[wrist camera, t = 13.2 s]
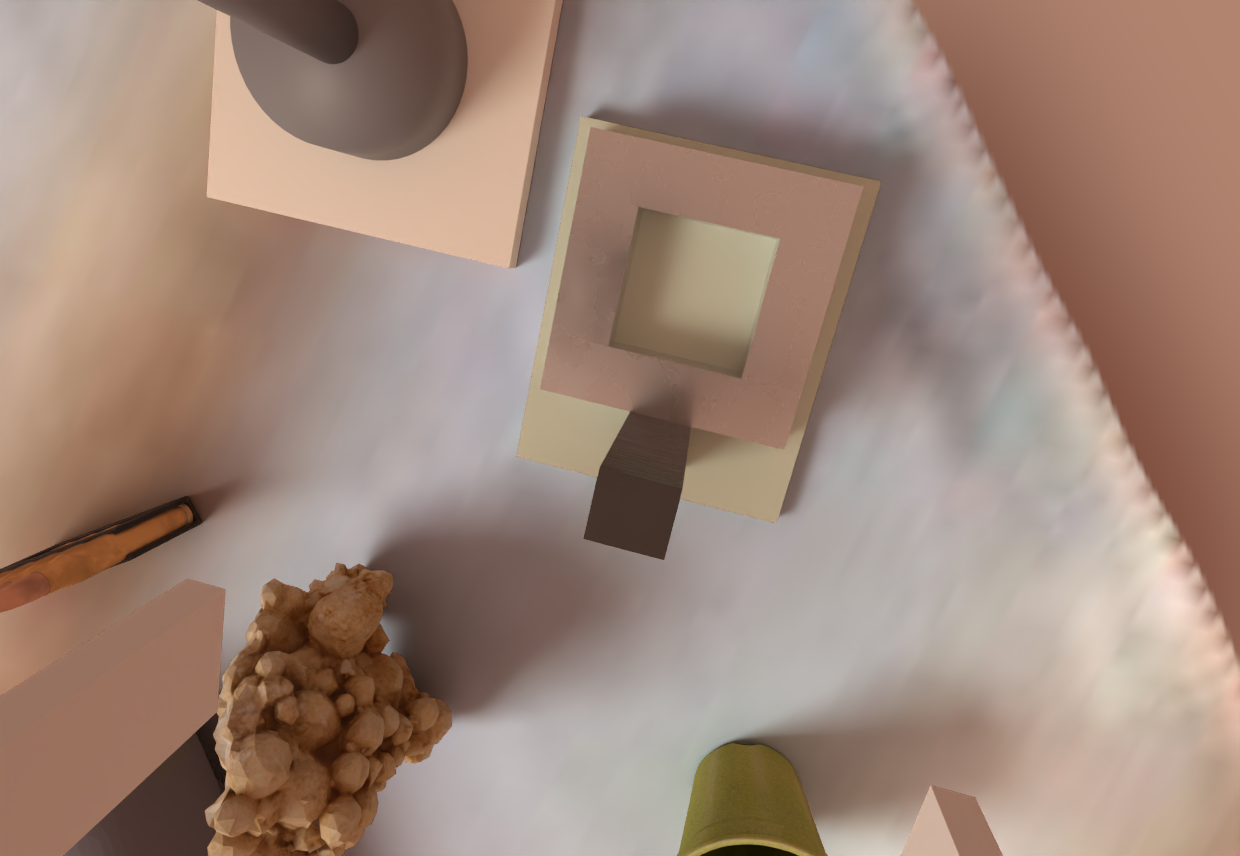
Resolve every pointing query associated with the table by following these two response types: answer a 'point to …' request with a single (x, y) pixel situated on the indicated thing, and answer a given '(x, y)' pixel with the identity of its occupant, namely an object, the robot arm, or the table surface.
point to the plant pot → (748, 807)
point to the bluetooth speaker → (161, 811)
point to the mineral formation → (315, 720)
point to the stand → (384, 115)
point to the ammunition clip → (93, 553)
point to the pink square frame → (669, 385)
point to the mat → (688, 337)
